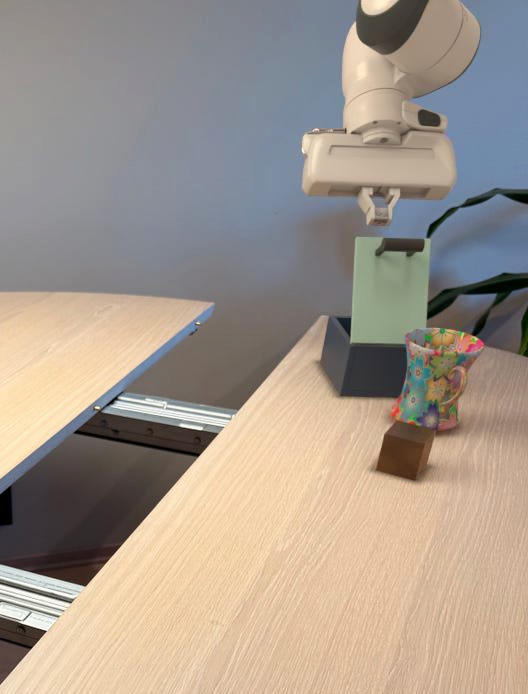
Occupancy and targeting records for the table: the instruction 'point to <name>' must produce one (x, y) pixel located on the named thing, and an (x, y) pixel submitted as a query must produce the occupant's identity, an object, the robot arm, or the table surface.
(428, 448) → the block
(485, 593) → the table surface
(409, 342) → the mug
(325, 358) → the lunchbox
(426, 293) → the lid
